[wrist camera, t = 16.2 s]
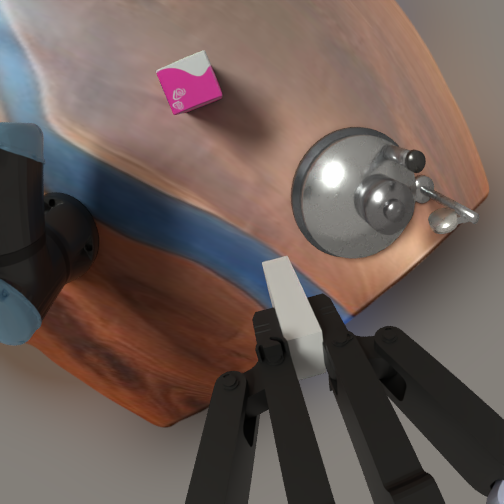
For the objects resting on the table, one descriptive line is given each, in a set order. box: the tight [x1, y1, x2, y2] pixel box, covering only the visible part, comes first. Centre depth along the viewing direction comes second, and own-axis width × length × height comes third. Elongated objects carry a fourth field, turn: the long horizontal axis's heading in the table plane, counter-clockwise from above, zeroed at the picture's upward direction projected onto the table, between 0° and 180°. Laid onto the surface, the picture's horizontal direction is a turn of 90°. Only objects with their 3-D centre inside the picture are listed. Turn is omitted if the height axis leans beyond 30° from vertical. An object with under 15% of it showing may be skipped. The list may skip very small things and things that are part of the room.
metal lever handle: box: [415, 175, 479, 234], centre depth 42 cm, size 10×5×15 cm, turn 123°
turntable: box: [300, 134, 426, 258], centre depth 42 cm, size 20×20×10 cm
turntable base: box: [291, 127, 399, 257], centre depth 47 cm, size 22×22×1 cm
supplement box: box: [156, 50, 222, 115], centre depth 33 cm, size 6×6×12 cm
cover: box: [354, 174, 414, 235], centre depth 42 cm, size 8×8×6 cm
